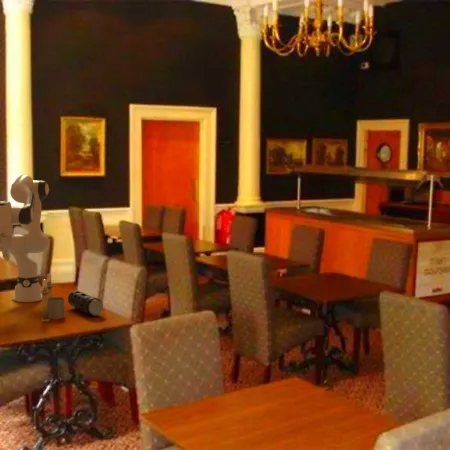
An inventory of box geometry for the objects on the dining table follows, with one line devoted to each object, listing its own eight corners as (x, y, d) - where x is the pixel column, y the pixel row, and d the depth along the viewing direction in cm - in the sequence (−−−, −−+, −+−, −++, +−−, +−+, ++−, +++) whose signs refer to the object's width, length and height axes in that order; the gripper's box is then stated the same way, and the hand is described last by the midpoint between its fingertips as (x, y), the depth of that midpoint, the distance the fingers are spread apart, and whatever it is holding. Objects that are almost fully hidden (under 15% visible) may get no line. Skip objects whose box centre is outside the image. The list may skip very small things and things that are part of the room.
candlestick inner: (46, 313, 379) (45, 273, 377) (54, 312, 380) (53, 273, 377) (45, 314, 375) (44, 275, 373) (53, 314, 375) (52, 275, 373)
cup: (67, 316, 371) (67, 298, 370) (56, 319, 364) (55, 301, 363) (56, 314, 375) (55, 296, 374) (44, 317, 368) (44, 299, 367)
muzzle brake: (83, 307, 395) (83, 289, 393) (104, 317, 372) (104, 297, 371) (67, 309, 389) (67, 291, 388) (87, 319, 366) (87, 299, 365)
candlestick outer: (41, 320, 363) (40, 279, 361) (50, 319, 364) (49, 278, 362) (40, 322, 359) (39, 280, 357) (49, 321, 359) (48, 280, 357)
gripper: (6, 234, 362) (7, 260, 363) (13, 229, 382) (14, 254, 384) (-7, 234, 361) (-6, 260, 363) (1, 229, 381) (2, 254, 383)
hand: (5, 257), depth 373 cm, fingers closed
